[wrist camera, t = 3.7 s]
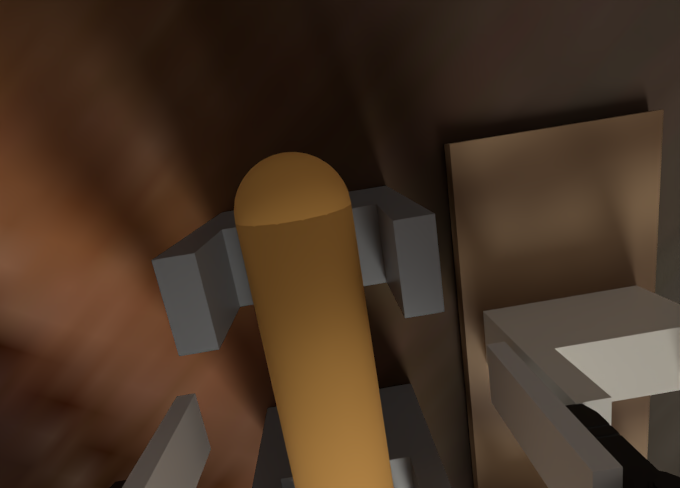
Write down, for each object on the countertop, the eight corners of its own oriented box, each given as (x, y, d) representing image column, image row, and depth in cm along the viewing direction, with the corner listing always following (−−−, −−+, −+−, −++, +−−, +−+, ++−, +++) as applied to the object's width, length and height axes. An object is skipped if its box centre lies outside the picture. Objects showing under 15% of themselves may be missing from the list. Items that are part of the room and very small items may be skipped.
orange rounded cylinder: (223, 161, 13) (180, 169, 9) (350, 141, 13) (365, 139, 9) (322, 598, 18) (323, 735, 14) (414, 582, 19) (442, 712, 14)
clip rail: (444, 144, 19) (449, 144, 18) (649, 110, 19) (663, 109, 18) (484, 605, 26) (489, 619, 25) (631, 578, 26) (640, 591, 25)
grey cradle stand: (221, 212, 19) (151, 260, 11) (385, 185, 19) (434, 213, 11) (278, 453, 22) (255, 623, 14) (416, 429, 22) (470, 584, 14)
